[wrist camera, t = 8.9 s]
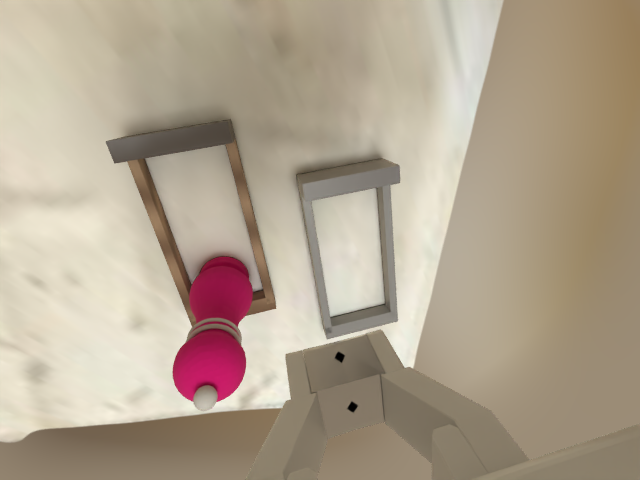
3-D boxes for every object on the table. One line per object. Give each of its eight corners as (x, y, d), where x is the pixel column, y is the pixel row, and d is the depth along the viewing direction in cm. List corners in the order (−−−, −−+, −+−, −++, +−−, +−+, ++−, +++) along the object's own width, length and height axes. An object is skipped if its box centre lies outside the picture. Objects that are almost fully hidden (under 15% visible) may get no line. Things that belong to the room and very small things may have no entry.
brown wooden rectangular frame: (125, 136, 33) (105, 141, 29) (230, 119, 35) (227, 121, 30) (195, 319, 43) (188, 344, 39) (275, 300, 44) (277, 322, 40)
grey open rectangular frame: (296, 174, 38) (302, 184, 34) (382, 158, 40) (399, 165, 35) (324, 330, 48) (331, 353, 44) (392, 313, 50) (406, 334, 45)
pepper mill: (229, 242, 40) (211, 353, 22) (263, 281, 43) (271, 407, 25) (183, 272, 41) (128, 407, 22) (220, 309, 44) (197, 454, 26)
